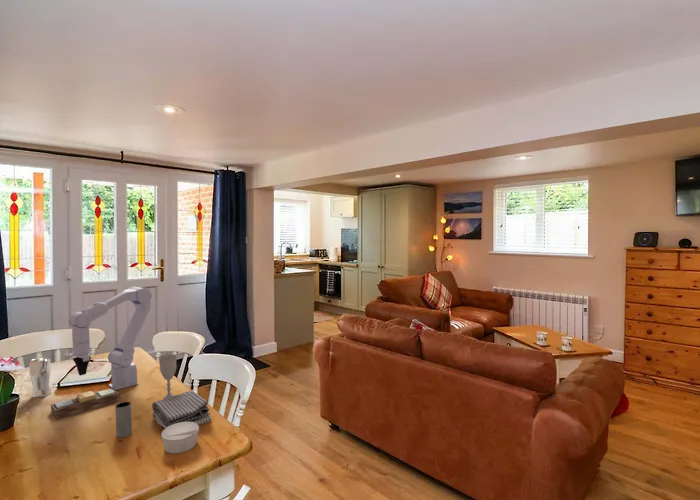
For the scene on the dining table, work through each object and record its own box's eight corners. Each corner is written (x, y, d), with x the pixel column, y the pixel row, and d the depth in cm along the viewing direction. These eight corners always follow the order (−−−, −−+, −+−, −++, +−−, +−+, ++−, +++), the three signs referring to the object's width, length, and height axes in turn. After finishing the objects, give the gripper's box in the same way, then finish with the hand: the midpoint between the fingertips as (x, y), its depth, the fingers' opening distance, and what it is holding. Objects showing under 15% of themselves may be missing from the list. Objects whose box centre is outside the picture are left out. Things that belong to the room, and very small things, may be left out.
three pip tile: (70, 404, 150) (70, 398, 150) (74, 408, 147) (73, 402, 147) (54, 408, 147) (54, 402, 147) (57, 412, 143) (57, 407, 143)
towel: (191, 405, 153) (191, 386, 153) (213, 422, 140) (212, 401, 140) (150, 419, 142) (150, 398, 142) (169, 438, 129) (168, 415, 129)
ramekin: (175, 460, 117) (175, 443, 116) (153, 449, 123) (153, 433, 122) (206, 443, 126) (206, 427, 126) (185, 433, 132) (185, 418, 132)
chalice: (155, 402, 155) (154, 358, 154) (169, 395, 161) (168, 353, 160) (169, 405, 152) (168, 360, 151) (182, 398, 159) (181, 355, 158)
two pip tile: (91, 395, 156) (91, 390, 155) (95, 399, 152) (95, 394, 152) (76, 399, 152) (76, 394, 152) (80, 403, 148) (79, 398, 148)
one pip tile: (111, 393, 161) (111, 387, 161) (115, 396, 157) (115, 391, 157) (97, 396, 157) (97, 391, 157) (101, 400, 154) (101, 395, 154)
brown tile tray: (112, 393, 164) (111, 386, 163) (120, 401, 156) (120, 394, 156) (50, 410, 148) (49, 402, 148) (56, 420, 141) (56, 412, 141)
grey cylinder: (115, 439, 128) (114, 408, 128) (116, 432, 132) (115, 403, 132) (131, 435, 130) (130, 405, 130) (132, 429, 134) (131, 400, 134)
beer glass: (56, 391, 166) (54, 356, 165) (41, 398, 159) (40, 362, 158) (41, 390, 166) (39, 356, 165) (26, 397, 159) (24, 361, 159)
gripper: (64, 340, 160) (66, 372, 160) (73, 347, 150) (75, 382, 151) (85, 336, 165) (86, 368, 166) (95, 343, 155) (96, 377, 156)
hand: (82, 374), depth 158 cm, fingers closed
